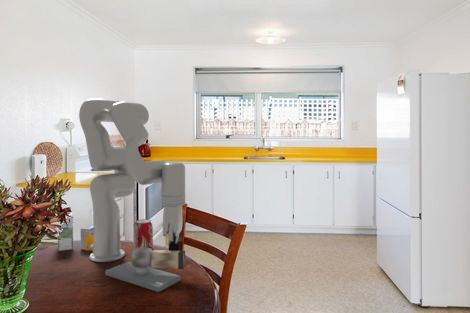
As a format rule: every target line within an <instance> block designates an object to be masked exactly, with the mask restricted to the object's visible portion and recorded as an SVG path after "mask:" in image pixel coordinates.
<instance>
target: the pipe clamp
mask: <svg viewBox="0 0 470 313" xmlns="http://www.w3.org/2000/svg"><path fill="white" fill-rule="evenodd" d="M93 243H94V237H92V236H91V234H85V250H84V251H93V249H91V248H88V245H93Z"/></svg>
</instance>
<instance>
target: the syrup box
mask: <svg viewBox="0 0 470 313" xmlns="http://www.w3.org/2000/svg"><path fill="white" fill-rule="evenodd" d="M69 213H70V214H69V216H71V217H72V218H69V217H67V219H70V222H68V221H67V223H68V226H67V225H66V224H62V225H61V226H62V229H63V231H62V232H61V236H58V235H57V252H64V251H73V250H74V220H73V219H74V217H73V215H74V214H73V212H69ZM58 238H60V239H61V240H58Z"/></svg>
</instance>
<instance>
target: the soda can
mask: <svg viewBox="0 0 470 313" xmlns="http://www.w3.org/2000/svg"><path fill="white" fill-rule="evenodd" d="M153 227H154V226H153V222H152V220H151V219H148V218H147V219H146V218H144V219H139V220H136V223H135V225H134V249H136V248H143V247H146V248H151V249H152V250H153V246H154V228H153Z"/></svg>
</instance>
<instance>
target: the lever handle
mask: <svg viewBox="0 0 470 313" xmlns="http://www.w3.org/2000/svg"><path fill="white" fill-rule="evenodd" d="M131 262H132V266H134V267H139V268H140V267H147V266H149V267H151V268H154V269H177V270H184V269H185V268H186V250H182V249H181V250H180V249H179V251H171V250H169V249H168V250H165V249H153V248H152V249H151V248H146V247H143V248H136V249H135V248H134V249H133V250H131Z"/></svg>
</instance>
